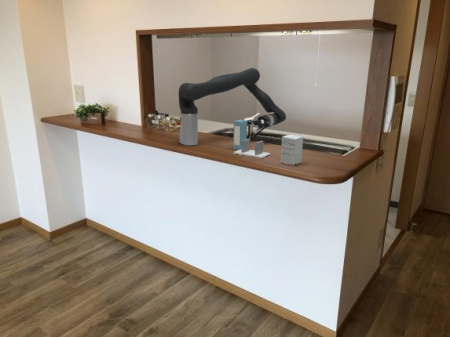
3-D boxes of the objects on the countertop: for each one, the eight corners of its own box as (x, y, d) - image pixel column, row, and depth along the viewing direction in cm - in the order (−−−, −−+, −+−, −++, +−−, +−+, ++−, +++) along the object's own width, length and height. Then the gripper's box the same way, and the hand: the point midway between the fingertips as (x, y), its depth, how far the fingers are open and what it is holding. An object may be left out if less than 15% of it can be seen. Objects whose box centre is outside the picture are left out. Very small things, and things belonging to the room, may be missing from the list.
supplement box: (287, 160, 177) (289, 134, 174) (301, 162, 173) (303, 136, 169) (279, 163, 172) (281, 136, 168) (294, 166, 167) (296, 138, 164)
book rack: (233, 154, 186) (234, 140, 184) (242, 150, 193) (243, 137, 191) (261, 159, 178) (262, 144, 176) (270, 155, 185) (271, 141, 183)
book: (233, 149, 197) (233, 121, 192) (239, 146, 202) (239, 119, 197) (240, 150, 194) (241, 122, 190) (246, 148, 199) (247, 120, 195)
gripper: (254, 113, 221) (241, 117, 208) (276, 116, 213) (263, 120, 200) (254, 126, 223) (240, 130, 210) (276, 128, 215) (263, 133, 202)
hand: (251, 125), depth 205 cm, fingers open, 8 cm apart
